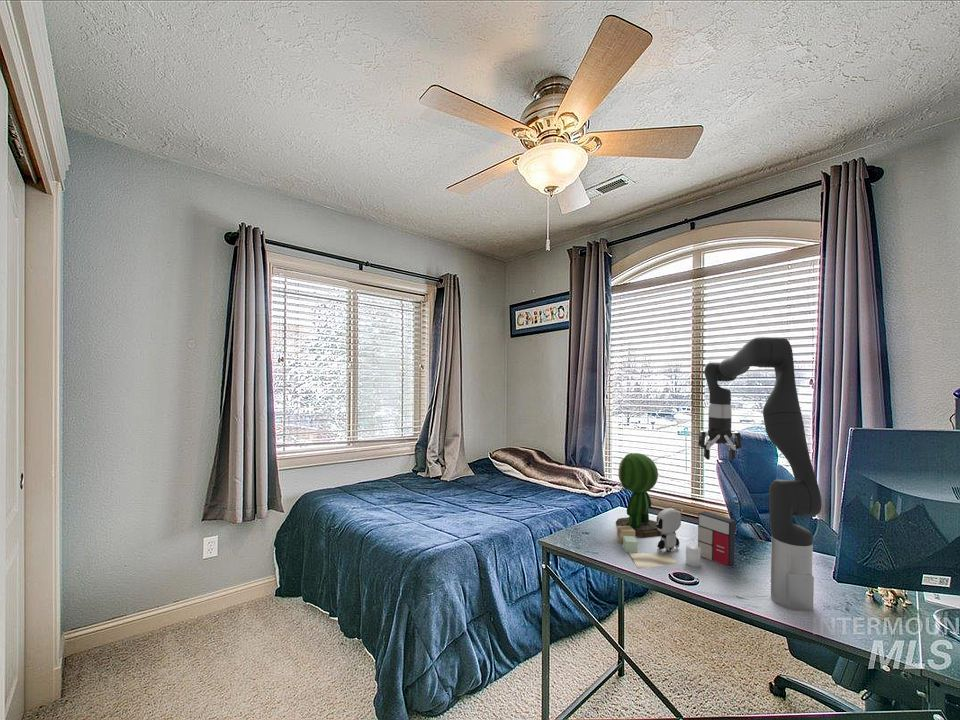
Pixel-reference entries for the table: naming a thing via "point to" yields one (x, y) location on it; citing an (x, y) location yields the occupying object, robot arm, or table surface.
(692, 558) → the white upright block
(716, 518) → the grey red panel box
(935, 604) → the table surface
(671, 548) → the robot toy
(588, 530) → the table surface
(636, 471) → the figurine
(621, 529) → the oak cube
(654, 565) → the birch pad
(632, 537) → the sage brick
